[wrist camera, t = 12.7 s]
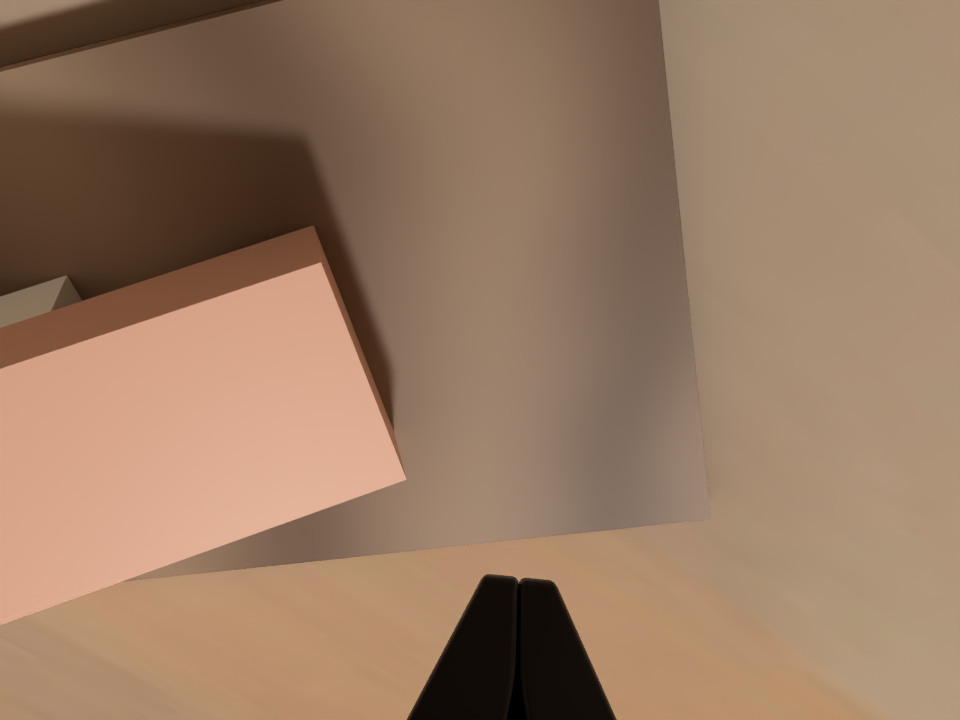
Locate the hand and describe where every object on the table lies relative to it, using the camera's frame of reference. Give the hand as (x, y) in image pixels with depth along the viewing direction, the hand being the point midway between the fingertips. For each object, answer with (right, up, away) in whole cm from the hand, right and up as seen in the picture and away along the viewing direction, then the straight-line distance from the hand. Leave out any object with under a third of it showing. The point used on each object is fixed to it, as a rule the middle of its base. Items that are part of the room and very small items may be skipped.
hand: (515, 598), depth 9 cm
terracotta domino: (-3, +3, +5) cm, 6 cm away
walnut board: (-11, +2, +8) cm, 14 cm away
